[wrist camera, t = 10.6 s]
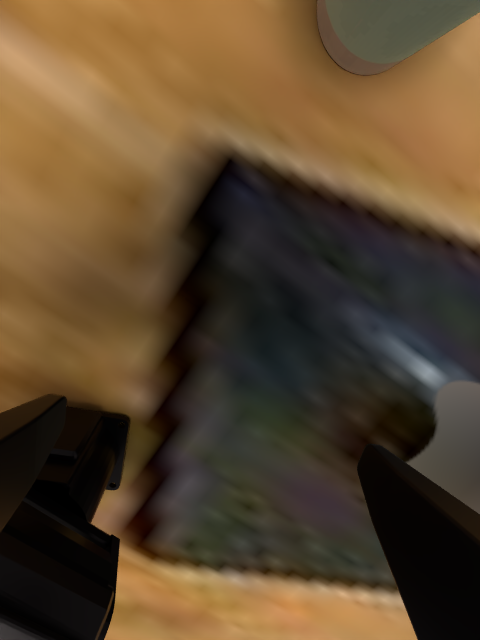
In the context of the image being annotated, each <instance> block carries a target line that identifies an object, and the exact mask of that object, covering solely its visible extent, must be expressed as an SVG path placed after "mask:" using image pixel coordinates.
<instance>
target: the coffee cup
mask: <svg viewBox="0 0 480 640" xmlns="http://www.w3.org/2000/svg"><path fill="white" fill-rule="evenodd" d="M479 12H480V0H318V1H317V22H318V28H319V33H320V36H321V39H322V42H323V44H324V46H325V48H326V50H327V52H328V53H329V55H330V56H331V57H332V59H333V60H334V61H335V62H336V63H337V64H338V65H339V66H341V67H342V68H344V69H345V70H347V71H349V72H352V73H355V74H359V75H374V74H378V73H381V72H384V71H386V70H388V69H390V68H392V67H393V66H395V65H396V64H398V63H400V62H401V61H403V60H404V59H406V58H408V57H409V56H411V55H413V54H414V53H416V52H417V51H419V50H420V49H422V48H424V47H425V46H427V45H428V44H430V43H432V42H433V41H435V40H436V39H438V38H439V37H441V36H443V35H444V34H446V33H447V32H449V31H451V30H452V29H454V28H455V27H457V26H458V25H460V24H462V23H463V22H465V21H466V20H468V19H470V18H471V17H473V16H474V15H476V14H477V13H479Z"/></svg>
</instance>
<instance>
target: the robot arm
mask: <svg viewBox="0 0 480 640" xmlns="http://www.w3.org/2000/svg"><path fill="white" fill-rule="evenodd" d="M66 405H67V399H66V397H65V396H62V395H56V394H48V395H45V396H43V397H40V398H38V399H35V400H33V401H30V402H28V403H25V404H23V405H20V406H17V407H15V408H12V409H10V410H7V411H5V412H2V413H0V640H104V638H105V636H106V633H107V630H108V628H109V625H110V622H111V618H112V614H113V610H114V604H115V593H116V581H117V568H118V556H119V543H120V539H119V538H117V537H116V536H114V535H108V534H107V533H105V532H104V531H102V530H100V529H99V528H97V527H95V526H94V525H92V524H91V522H92V519H93V517H94V515H95V512H96V510H97V508H98V505H99V503H100V501H101V498H102V496H103V494H104V491H105V489H106V490H117V489H118V488H119V486H120V483H121V479H122V472H123V466H124V459H125V453H126V447H127V440H128V434H129V427H130V420H129V418H128V417H126V416H121V415H115V414H108V413H102V412H97V411H91V410H84V409H78V408H72V407H66ZM120 422H123V423H124V424H125V425H122V424H120ZM357 471H358V476H359V479H360V482H361V486H362V489H363V493H364V496H365V500H366V503H367V506H368V510H369V513H370V517H371V520H372V523H373V526H374V528H375V531H376V534H377V536H378V539H379V541H380V544H381V547H382V549H383V552H384V554H385V557H386V559H387V562H388V565H389V567H390V570H391V572H392V575H393V577H394V580H395V582H396V585H397V588H398V590H399V593H400V595H401V598H402V600H403V603H404V606H405V608H406V611H407V613H408V616H409V618H410V621H411V624H412V626H413V629H414V631H415V634H416V636H417V639H418V640H480V514H478V513H477V512H475V511H474V510H472V509H471V508H470V507H468V506H467V505H465V504H464V503H463V502H461V501H460V500H458V499H457V498H455V497H454V496H452V495H451V494H450V493H448V492H447V491H445V490H444V489H442V488H441V487H440V486H438V485H437V484H435V483H434V482H432V481H431V480H429V479H428V478H427V477H425V476H424V475H422V474H421V473H420V472H418V471H417V470H415V469H414V468H412V467H411V466H410V465H408V464H407V463H405V462H404V461H402V460H401V459H400V458H398V457H397V456H395V455H394V454H392V453H391V452H390V451H388V450H387V449H385V448H384V447H382V446H380V445H375V444H367V445H366V446H365V448H364V451H363V453H362V455H361V458H360V460H359V463H358V466H357ZM114 483H115V484H114Z"/></svg>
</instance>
